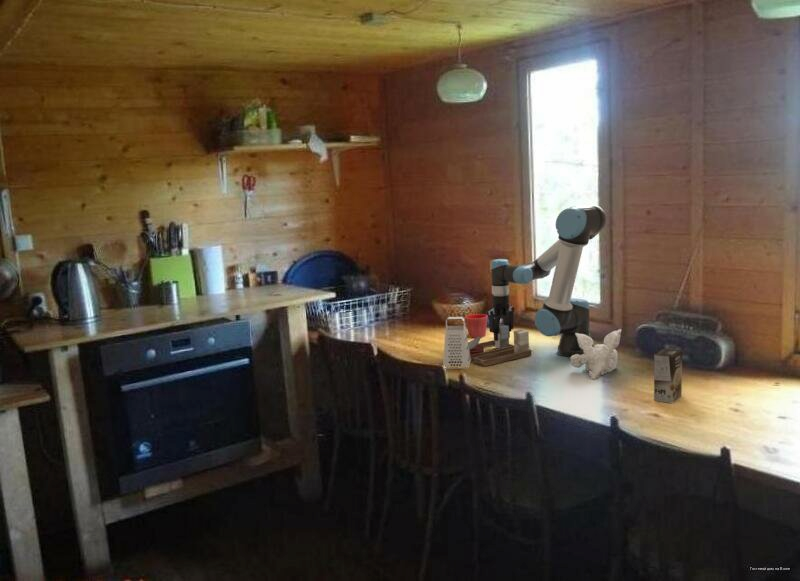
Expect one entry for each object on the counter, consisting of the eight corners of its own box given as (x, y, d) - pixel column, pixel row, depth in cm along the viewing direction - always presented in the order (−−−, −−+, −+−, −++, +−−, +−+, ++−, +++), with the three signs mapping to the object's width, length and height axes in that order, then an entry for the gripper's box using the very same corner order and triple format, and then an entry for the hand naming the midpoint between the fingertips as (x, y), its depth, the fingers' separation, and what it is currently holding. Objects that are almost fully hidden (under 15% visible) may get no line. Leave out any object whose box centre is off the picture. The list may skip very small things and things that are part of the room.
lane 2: (531, 355, 306) (530, 332, 304) (484, 366, 294) (483, 342, 292) (519, 351, 313) (518, 328, 311) (473, 362, 301) (472, 338, 299)
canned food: (478, 368, 309) (474, 351, 303) (458, 363, 315) (453, 346, 309) (491, 351, 316) (487, 334, 310) (471, 346, 322) (467, 329, 316)
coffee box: (672, 403, 239) (673, 356, 236) (653, 400, 243) (653, 354, 240) (682, 396, 246) (682, 350, 243) (663, 393, 250) (663, 348, 247)
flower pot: (461, 335, 349) (460, 315, 347) (481, 332, 353) (480, 312, 352) (472, 339, 339) (472, 319, 338) (492, 336, 344) (492, 316, 342)
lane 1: (516, 350, 316) (515, 327, 314) (470, 360, 304) (469, 337, 302) (495, 344, 328) (495, 322, 326) (450, 353, 316) (449, 331, 314)
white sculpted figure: (625, 340, 286) (620, 324, 269) (626, 390, 279) (621, 376, 262) (576, 341, 293) (568, 325, 276) (576, 389, 286) (568, 376, 269)
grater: (468, 368, 294) (466, 320, 290) (442, 368, 296) (440, 320, 293) (471, 361, 304) (469, 314, 301) (446, 361, 306) (444, 315, 303)
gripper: (510, 291, 324) (511, 341, 328) (479, 296, 316) (481, 348, 320) (521, 293, 318) (522, 344, 322) (490, 298, 309) (491, 351, 313)
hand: (502, 346), depth 321 cm, fingers closed on lane 1, 4 cm apart
